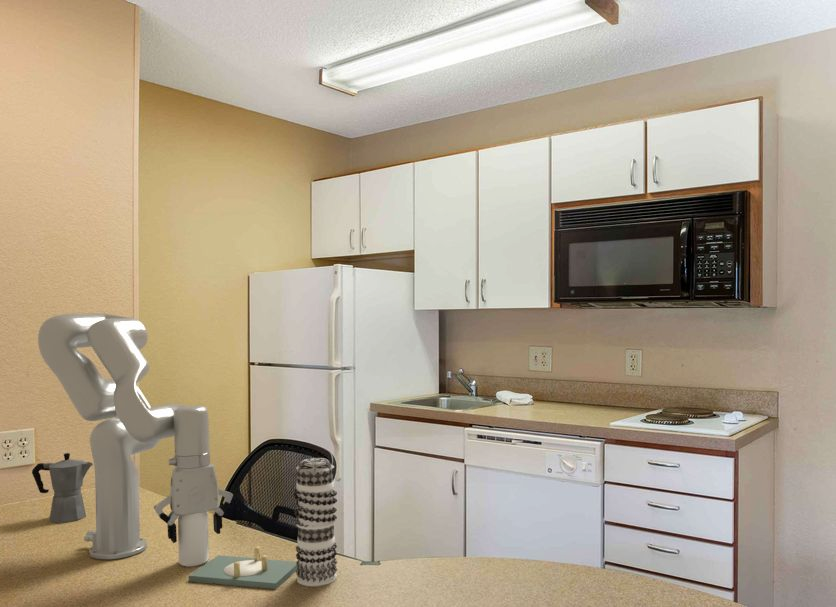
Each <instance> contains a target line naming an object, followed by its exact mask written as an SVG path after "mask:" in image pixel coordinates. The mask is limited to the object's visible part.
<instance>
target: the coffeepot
mask: <svg viewBox="0 0 836 607" xmlns="http://www.w3.org/2000/svg"><path fill="white" fill-rule="evenodd" d="M63 457H64V458H63V460H60V461H57V462H45V463H44V462H40V463H37V464H36V465H35V466H34V468H33V469H32V470H31V474H32V476H33V478H34V481H35V483H36V485H37V488H38V491H39V493H40V494H48V493H49V491H50V489H45V488H44V482H43V480H42V476H41V473H40V471H49V475H50V481H51V482H50V483H51V486H52V490H53V497H52V501H51V507H50V508H51V509H50V514H49V521H50V522H51V523H54V524H66V523H72V522H77V521H79V520H82V519H84V518H85V517H86V516H87V515H86V508H85V504H84V499H83V493H82V487H83V483H84V478H85V476H86V474H88V471H89V469H90V468H91V467H92V466H94V463H93V462H90V461H84V460H82V459H70V458H71V453H69V452H66V453H63Z"/></svg>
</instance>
